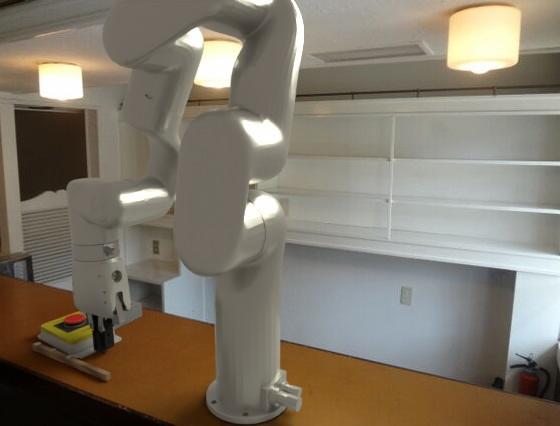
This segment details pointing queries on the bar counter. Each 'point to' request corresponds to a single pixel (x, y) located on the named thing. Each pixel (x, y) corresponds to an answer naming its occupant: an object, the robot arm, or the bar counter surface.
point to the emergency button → (71, 335)
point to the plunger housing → (131, 313)
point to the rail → (72, 361)
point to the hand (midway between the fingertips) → (104, 348)
